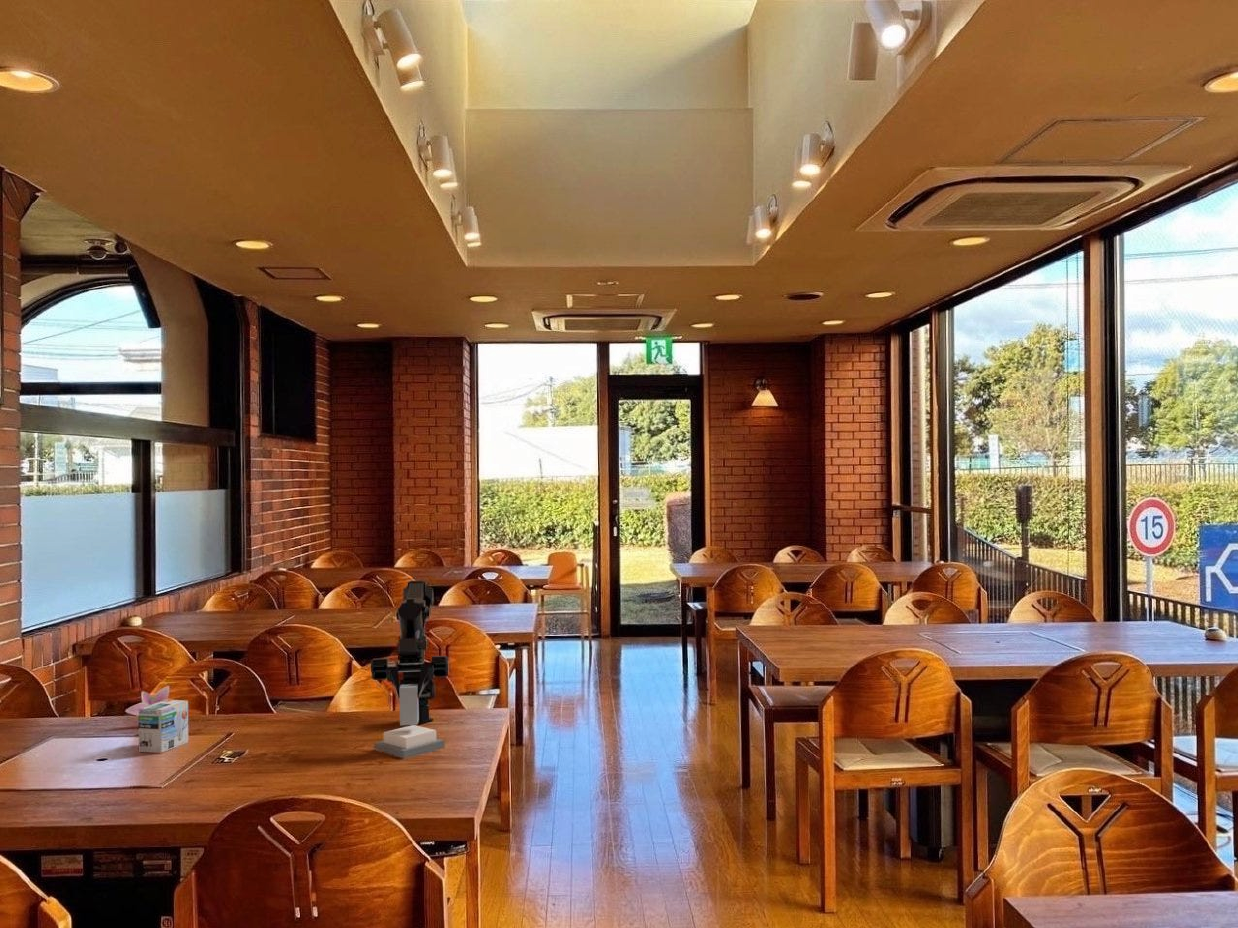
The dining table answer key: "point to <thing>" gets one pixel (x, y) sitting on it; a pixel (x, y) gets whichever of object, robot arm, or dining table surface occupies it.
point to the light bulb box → (163, 726)
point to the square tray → (409, 751)
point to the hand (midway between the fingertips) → (408, 696)
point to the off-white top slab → (409, 736)
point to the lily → (149, 700)
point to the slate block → (409, 704)
